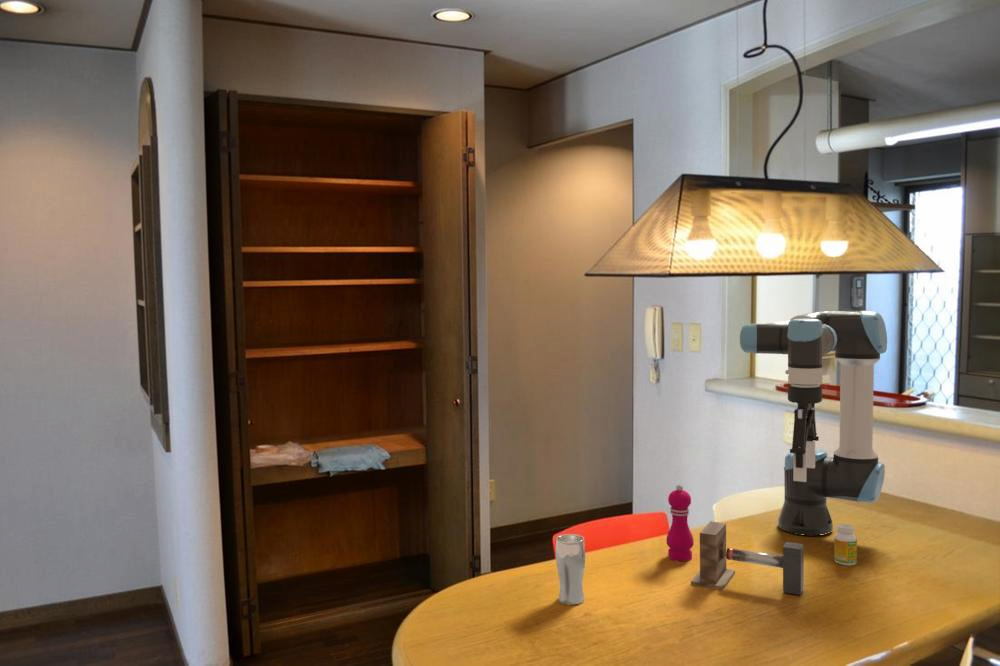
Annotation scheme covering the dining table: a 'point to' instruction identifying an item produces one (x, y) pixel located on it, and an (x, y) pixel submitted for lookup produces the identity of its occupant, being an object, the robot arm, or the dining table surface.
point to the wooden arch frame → (713, 558)
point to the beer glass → (570, 567)
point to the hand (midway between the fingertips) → (804, 474)
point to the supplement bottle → (845, 545)
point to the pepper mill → (679, 526)
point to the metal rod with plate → (778, 564)
